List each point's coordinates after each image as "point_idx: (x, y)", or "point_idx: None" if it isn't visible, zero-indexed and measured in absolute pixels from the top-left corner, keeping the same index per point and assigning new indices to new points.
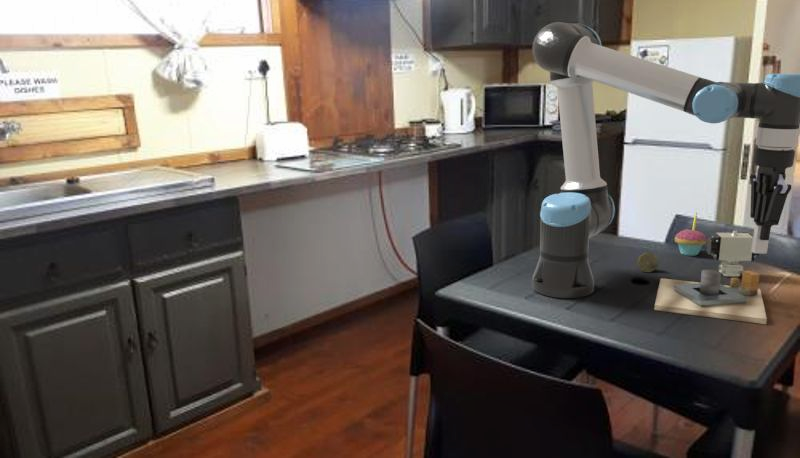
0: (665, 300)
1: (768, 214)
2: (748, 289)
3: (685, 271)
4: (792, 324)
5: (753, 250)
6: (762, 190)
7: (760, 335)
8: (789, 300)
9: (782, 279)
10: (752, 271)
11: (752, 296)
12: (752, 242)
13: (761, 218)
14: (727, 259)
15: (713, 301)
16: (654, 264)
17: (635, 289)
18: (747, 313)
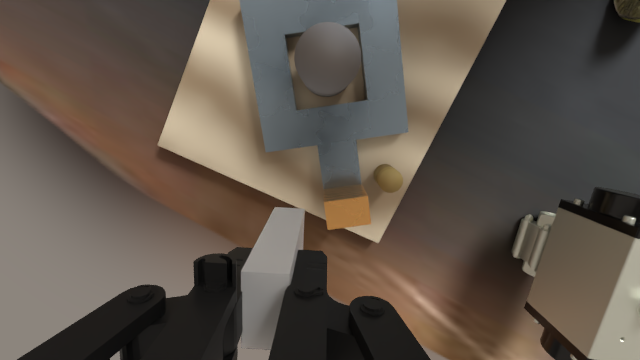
0: None
1: (60, 344)
2: (329, 188)
3: (595, 124)
4: (167, 204)
5: (282, 210)
6: None
7: (94, 93)
8: None
9: (475, 348)
10: (359, 223)
11: (321, 193)
12: (299, 223)
13: (207, 308)
14: (551, 234)
15: (247, 43)
16: (637, 6)
17: None
18: (195, 115)
